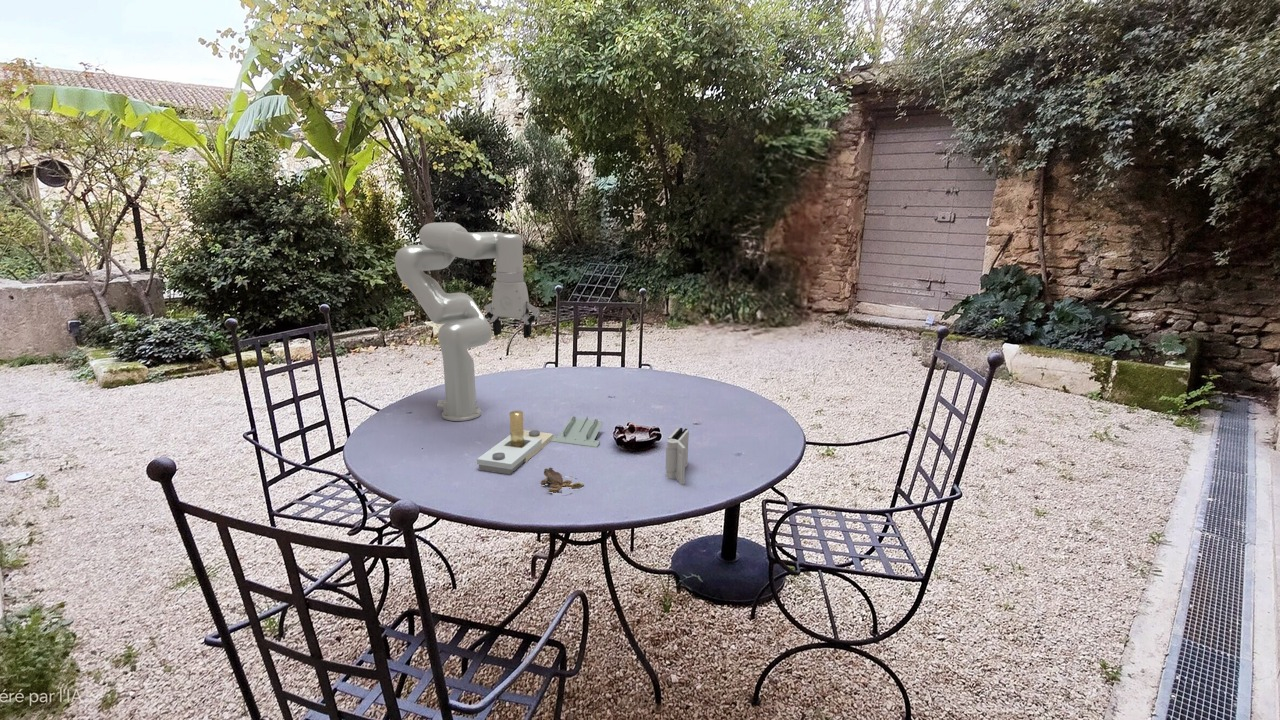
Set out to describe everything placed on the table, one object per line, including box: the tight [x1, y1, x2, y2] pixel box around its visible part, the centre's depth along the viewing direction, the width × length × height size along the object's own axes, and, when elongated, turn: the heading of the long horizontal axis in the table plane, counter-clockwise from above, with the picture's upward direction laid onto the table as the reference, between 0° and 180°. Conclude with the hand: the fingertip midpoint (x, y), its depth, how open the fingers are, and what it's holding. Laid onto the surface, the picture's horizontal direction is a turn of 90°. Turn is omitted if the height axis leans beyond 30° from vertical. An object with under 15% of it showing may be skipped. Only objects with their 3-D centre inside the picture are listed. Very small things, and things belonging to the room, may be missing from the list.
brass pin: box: [509, 410, 525, 448], centre depth 164 cm, size 4×4×12 cm
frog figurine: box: [539, 467, 585, 493], centre depth 146 cm, size 12×12×4 cm
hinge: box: [665, 427, 690, 486], centre depth 154 cm, size 14×5×10 cm, turn 172°
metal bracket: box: [549, 415, 604, 449], centre depth 178 cm, size 14×6×15 cm
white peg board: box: [476, 429, 554, 475], centre depth 165 cm, size 26×10×4 cm, turn 164°
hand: (512, 335), depth 173 cm, fingers open, 9 cm apart
